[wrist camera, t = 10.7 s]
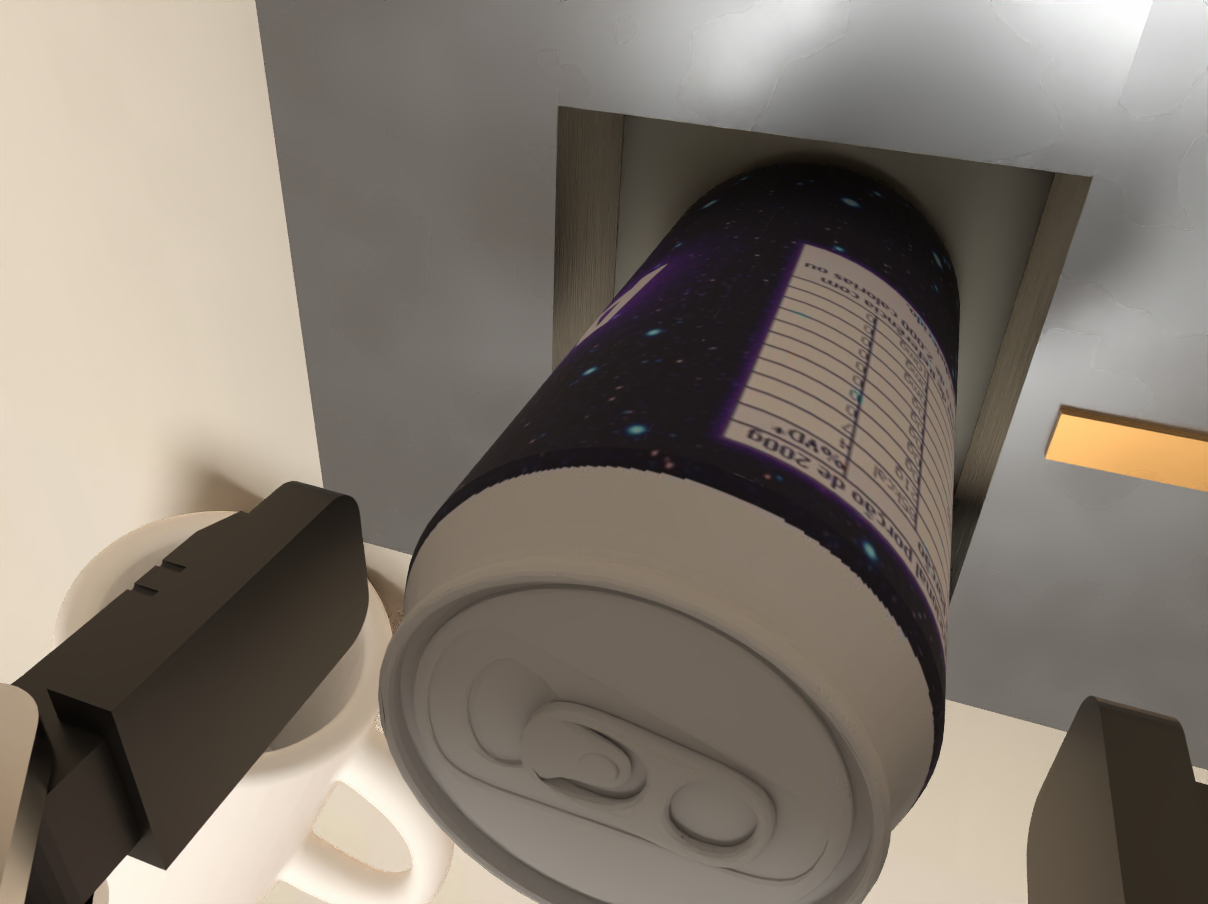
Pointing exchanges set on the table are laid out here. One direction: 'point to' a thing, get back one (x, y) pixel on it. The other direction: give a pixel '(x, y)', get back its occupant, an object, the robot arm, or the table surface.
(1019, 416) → the jig
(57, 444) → the table surface
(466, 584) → the beverage can
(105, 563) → the mug
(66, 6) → the table surface
